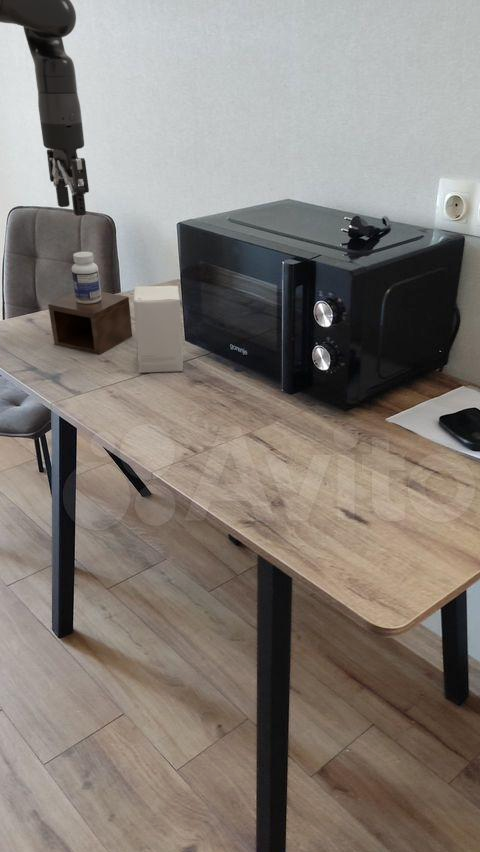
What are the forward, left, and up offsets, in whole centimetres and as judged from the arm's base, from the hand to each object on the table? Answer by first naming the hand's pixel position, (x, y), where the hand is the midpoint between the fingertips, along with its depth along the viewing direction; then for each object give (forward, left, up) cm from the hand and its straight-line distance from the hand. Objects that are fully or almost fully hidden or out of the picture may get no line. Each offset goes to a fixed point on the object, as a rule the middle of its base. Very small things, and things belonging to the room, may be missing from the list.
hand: (72, 210), depth 140 cm
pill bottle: (+1, -1, -18) cm, 18 cm away
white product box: (-3, -21, -27) cm, 35 cm away
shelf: (+1, -1, -27) cm, 27 cm away
